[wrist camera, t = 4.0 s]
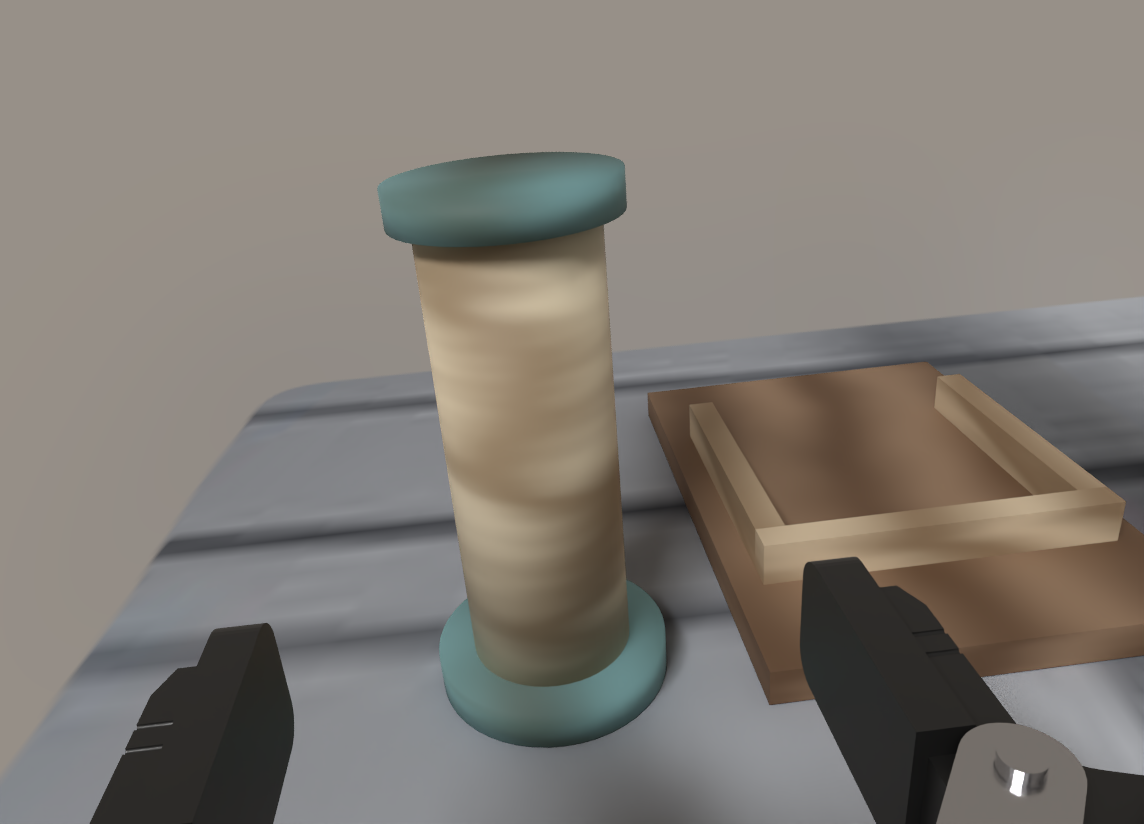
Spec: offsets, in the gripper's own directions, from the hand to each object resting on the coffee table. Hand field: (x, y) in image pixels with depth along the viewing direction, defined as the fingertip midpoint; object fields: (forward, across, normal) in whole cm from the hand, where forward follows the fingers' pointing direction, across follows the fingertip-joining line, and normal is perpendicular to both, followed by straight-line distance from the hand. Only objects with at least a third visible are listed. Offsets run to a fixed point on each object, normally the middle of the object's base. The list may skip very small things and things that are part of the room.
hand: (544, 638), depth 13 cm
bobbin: (+12, 0, +10) cm, 15 cm away
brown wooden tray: (+18, -13, +10) cm, 25 cm away
